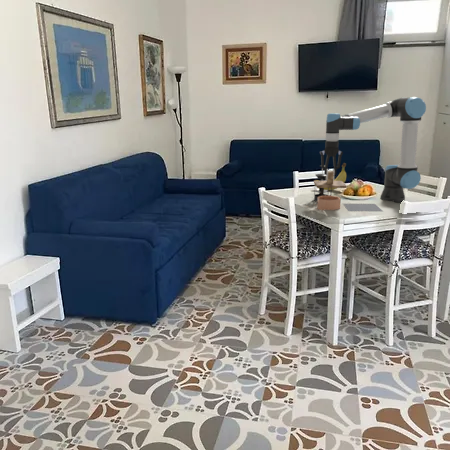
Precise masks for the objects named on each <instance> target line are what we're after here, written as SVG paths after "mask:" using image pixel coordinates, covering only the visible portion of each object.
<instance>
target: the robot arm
mask: <svg viewBox="0 0 450 450" xmlns="http://www.w3.org/2000/svg"><path fill="white" fill-rule="evenodd" d="M426 111H427V105H426V102H425V101H424V100H423V98H421V97H417V96H412V97H409V96H407V97H406V96H405V97H403V96H402V97H399V98H397V99H393V100H390V101H386V102H385V103H384V104H381V105H378V106H374V107H370V108H366V109H362V110H358V111H354V112H350V113H347V114H343V115H341V113H335V112H334V113H328V114H327V115H326V123H325V124H326V125H325V126H326V127H325V128H326V129H325V143H324V146H325V147H324V149H323V150H322V151H319V154H320V159H321V161H320V162H321V166H322V167H321V166H320V167H321V169H322V168H323V174H325V175H326V179H325V181H328V171H329V169H328V166H329V161H330V157H332V162H333V168H332V171H333V172H334V176H333V181H334V180H335V176H336V175H337V170H338V169H340V168H341V163H342V162H341V161H342V156H343V154H344V152H343V151H341V150H340V149H339V145H340V143H339V139H340V131H354V130H355V131H356V130H358V129H359V128H360V126H361V124H363V123H367V122H371V121H377V120H380V119H384V118H387V119H389V118H390V119H391V118H394V117H395V118H397V117H398V118H399V120H400V121H399V122H400V123H401V124H402V127H401V128H402V129H401V143H400V144H401V145H400V159H399V161H400V162H399V163H398V164H388V165H386V166H385V173H384V186H383V190H382V191H381V195H380V200H383V201H385V202H386V201H387V202H394V203H402V202H401V201H403V200H406V196H405V195H406V194H405V191H404V189H406V190H407V189H408V190H412V189H414V188H416V187H418V185H419V184H420V182H421V179H422V178H421V174H420V172H419V171H418V168H419V167H418V165H417V164H416V158H417V157H416V156H417V146H418V145H417V144H418V143H417V142H418V130H419V124H420V122H421V121H422V117H423V116H424V114H425V113H426ZM337 154H338V159H337V157H336V156H337ZM324 155H326V158H325V156H324ZM324 165H325V167H324ZM403 202H404V201H403Z"/></svg>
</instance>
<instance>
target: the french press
mask: <svg viewBox="0 0 450 450" xmlns="http://www.w3.org/2000/svg"><path fill="white" fill-rule="evenodd" d="M319 167H321V173H315V176H316V178H317V180H326V175H325V174H324V169H323V168H322V166H321V165H319ZM324 167H325V164H324ZM329 191H330V193H332V191H333V190H332V188H331V190H329V188H328V190H324V188H318V189H314V193H313V194H314V196H313V197H314V198H313V201H314V202H317V200H318V197H320V196H332V194H330V195H329V194H326V193H329Z"/></svg>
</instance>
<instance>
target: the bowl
mask: <svg viewBox="0 0 450 450" xmlns="http://www.w3.org/2000/svg"><path fill="white" fill-rule="evenodd" d="M316 202H317V204H316V208H317V209H318V210H319V211H326V210H327V211H328V210H329V211H333V210H334V211H335V210H339V209H341V197H340V196H335V195H331V196H320V197H318V200H317V201H316Z"/></svg>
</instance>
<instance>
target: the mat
mask: <svg viewBox="0 0 450 450" xmlns="http://www.w3.org/2000/svg"><path fill="white" fill-rule="evenodd" d="M342 205H343V206H344V207H345V209H346V210H347V212H383V210H382V209H381V208H380V207H379V206H378V205H377V204H376V203H342Z"/></svg>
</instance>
